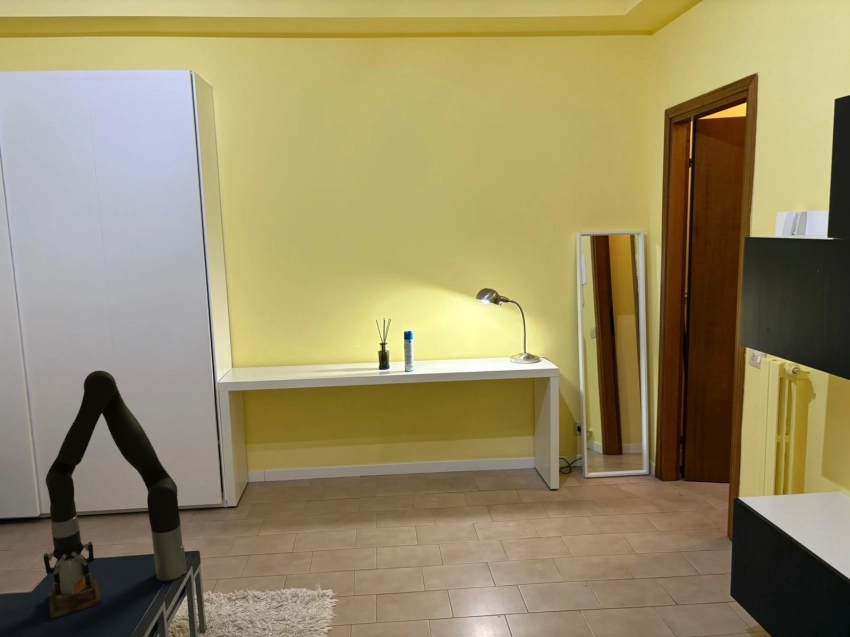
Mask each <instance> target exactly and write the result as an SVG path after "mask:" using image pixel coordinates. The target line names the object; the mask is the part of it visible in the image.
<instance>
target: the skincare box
mask: <svg viewBox="0 0 850 637" xmlns="http://www.w3.org/2000/svg"><path fill="white" fill-rule="evenodd" d="M81 555H83V554H82V552H81V554H80V556H81ZM58 562H59V561H58ZM58 562H57V563H58ZM59 580H60V588H61V596H64V597H65V596H69V595H72V594H75V593H78V592H80V591H81V590H82V589H84V588H85V578H84V570H83V564H82V563H81V562H79V561H78V560H77V559H76V558H71V559H67V560H64V561H63V562H61V567H60V569H59Z"/></svg>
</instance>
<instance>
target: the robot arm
mask: <svg viewBox="0 0 850 637" xmlns="http://www.w3.org/2000/svg"><path fill="white" fill-rule="evenodd" d="M101 415H102V416H103V419H104V420H105V423H106V426H107V428H108V430H109V433H110V436H111V438H112V439H113V442H114V444H115V445H116V447H117V449H118V451H119V452H120V454H121V455H122V457H123V459H125V460H126V462H127V463H128V464H129V465H131V466H132V468H134V469H135V470H136V471H137V473H138V474H139V475H140V477H141V479H142V481H143V483H144V485H145V487H146V491H147V500H146V501H147V504H146V505H147V510H148V519H149V524H150V531H151V540H152V541H151V542H152V548H153V559H154V566H155V567H154V568H155V574H156V579H157V580H158V581H163V582H165V581H166V582H167V581H168V582H169V581H172V580H176V579H178V578H181V577H183V575H185V574H187V563H186V561H187V560H186V552H185V546H184V545H183V537H182V536H183V535H182V534H183V533H182V526H181V516H180V509H179V500H178V486H177V484H176V482H175V481H174V479H173V478H172V476H171V475H170V474H169V472H168V471H167V470H166V469H165V467H164V466H163V465H162V463H161V461H160V458H159V457H158V455H157V452H156V451H155V449H154V446H153V444H152V443H151V441H150V439H149V436H147V433H146V431H145V430H144V429H143V426H142V425H141V424H140V423H139V421H138V419H137V418H136V416H135V415H134V414H133V412H132V411H131V410H130V409H129V407H128V406H127V404H126V403H125V401H124V399H123V398H122V395H121V393H120V391H119V388H118V386H117V382H116V379H115V378H114V376H113V375H112V374H111V373H109V372H107V371H105V370H95V371H91V373H90V372H89V374H88V375H87V376H86V378H85V379H84V382H83V396H82V400H81V403H80V407H79V410H78V412H77V414H76V417H75V419H74V420H73V422H72V424H71V425H70V427H69V429H68V431H67V433H66V435H65V438H64V439H63V441H62V444H61V446H60V448H59V451H58V455H56V458H55V459H54V460H53V462H52V464H51V465H50V467H49V470H47V471H48V472H47V474H46V477H45V484H46V488H47V491H48V492H47V493H48V496H49V501H50V505H49V514H50V520H51V525H50V526H51V537H52V543H53V548H54V549H53V552H50V553H47V552H46V553H43V561H44V562H43V563H44V567H45V568H44V569H45V573H46V575H50V574H52V575H53V579H54V580H53V581H54V583H57V584H60V580H59V569H60V567H61V562H63V561H64V560H67V559H71V558H76V559H77V560H78V561H79V562H81V563H82V564H83V570H84V577H85V576H87V574H88V573H90V570H89V564H90V563H93V562H94V561H95V560H94V559H95V558H94V545H93V542H92V541H89V542H87V543H82V539H81V531H80V524H79V519H78V516H77V508H76V502H75V485H74V484H75V483H74V479H73V473H74V472H75V469H76V467H77V466H78V465H79V464H81V462H82V460H83V458H84V455H85V453H86V451H87V449H88V446H89V445H90V441H91V439H92V436H93V433H94V431H95V428H96V426H97V424H98V421H99V420H100V417H101ZM84 549H85V551H86V552H88V557H87V558H86V557H85V556H84V555H83V554H82V555H81V556H80V554H81V553H82V552H83V551H84ZM53 557H54V558H55V559H56V561H55V565H54V566H53V567H51V564H50V562H51V561H52V560H53V559H52V558H53ZM58 561H59V562H58ZM57 562H58V563H57Z"/></svg>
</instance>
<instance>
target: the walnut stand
mask: <svg viewBox="0 0 850 637" xmlns="http://www.w3.org/2000/svg"><path fill="white" fill-rule="evenodd" d="M84 578H85V588H84V589H82V590H81V591H80V592H78V593H75V594H72V595H69V596H65V597H64V596H61V588H60V584H57V583H55V582H53V583H51V592H48V602H49V603H48V604H49V605H48V606H49V616H50V619H54V618H58V617H61V616H63V615H68V614H70V613H73V612H78V611H80V610H83V609H87V608H89V607H92V606H96V605H99V604H102V599H101V595H100V588H99V584H98V580H97V579H94V578H93V573H92V572H89V573H88V574H87V576H85V577H84Z"/></svg>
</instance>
